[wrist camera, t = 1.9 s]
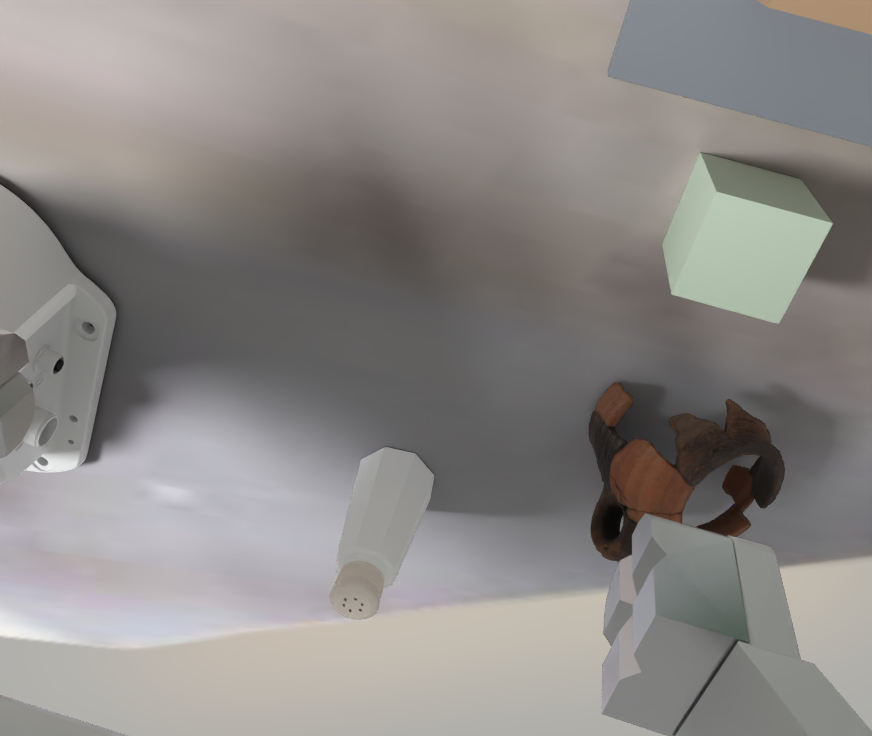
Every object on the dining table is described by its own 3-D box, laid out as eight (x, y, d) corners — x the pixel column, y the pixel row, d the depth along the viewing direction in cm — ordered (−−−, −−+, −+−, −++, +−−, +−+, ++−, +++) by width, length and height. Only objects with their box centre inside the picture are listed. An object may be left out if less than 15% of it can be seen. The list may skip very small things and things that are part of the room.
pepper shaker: (370, 511, 53) (323, 639, 44) (347, 449, 51) (291, 572, 41) (444, 505, 52) (412, 637, 42) (424, 441, 49) (384, 566, 40)
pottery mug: (628, 332, 43) (720, 414, 36) (734, 372, 47) (833, 451, 41) (524, 496, 47) (590, 597, 40) (631, 518, 52) (706, 610, 45)
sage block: (755, 270, 40) (778, 324, 34) (661, 244, 40) (671, 294, 35) (800, 178, 37) (833, 223, 32) (700, 152, 37) (716, 191, 32)
